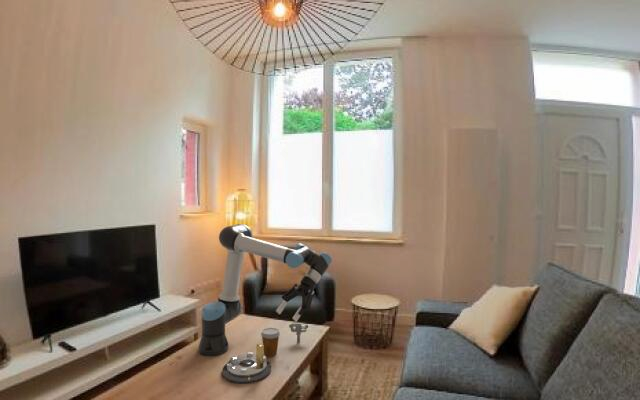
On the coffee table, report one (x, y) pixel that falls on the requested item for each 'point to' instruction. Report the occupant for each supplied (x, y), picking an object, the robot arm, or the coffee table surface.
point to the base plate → (246, 379)
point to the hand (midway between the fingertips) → (285, 316)
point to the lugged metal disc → (248, 363)
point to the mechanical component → (298, 330)
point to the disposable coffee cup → (270, 341)
